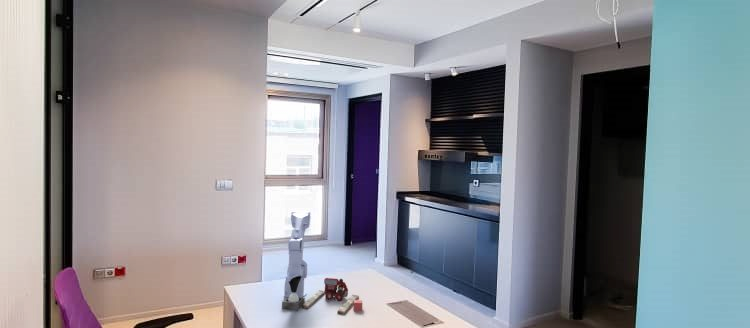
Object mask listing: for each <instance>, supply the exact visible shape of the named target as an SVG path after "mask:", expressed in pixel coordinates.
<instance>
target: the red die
mask: <svg viewBox="0 0 750 328" xmlns="http://www.w3.org/2000/svg"><path fill="white" fill-rule="evenodd" d="M352 306H353V312H363V299H357V300H354V304H353V305H352Z"/></svg>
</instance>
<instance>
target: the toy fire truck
mask: <svg viewBox="0 0 750 328" xmlns="http://www.w3.org/2000/svg"><path fill="white" fill-rule="evenodd" d="M323 283H324V291H325V294H324V296H325V299H326V301H332V300H333V299H334V298H335V300H336V301H337V302H341V301H343V300H344V298H347V297H348V295H349V289H348V286H347V283H346V282H345V281H344V280H343V278H340V279H338V278H333V277H330V278H329V277H325V278H324V281H323Z"/></svg>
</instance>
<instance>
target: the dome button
mask: <svg viewBox="0 0 750 328" xmlns="http://www.w3.org/2000/svg"><path fill="white" fill-rule="evenodd" d="M287 298H288V297H287ZM298 301H299V298H298V295H297V294H295V293H293V294H291V295H290V296H289V298H288V302H294V303H297V302H298Z"/></svg>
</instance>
